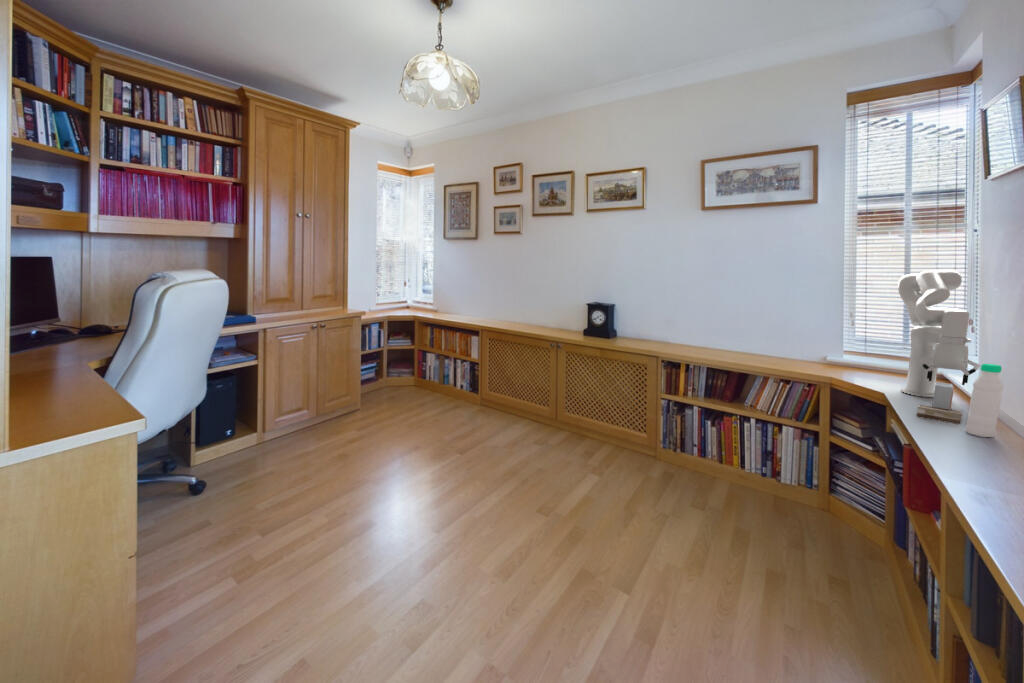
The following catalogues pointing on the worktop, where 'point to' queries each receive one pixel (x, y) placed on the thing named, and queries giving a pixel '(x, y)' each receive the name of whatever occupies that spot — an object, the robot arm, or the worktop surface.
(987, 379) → the milk bottle
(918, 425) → the worktop surface
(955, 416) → the shelf board
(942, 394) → the tea carton
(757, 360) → the worktop surface
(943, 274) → the robot arm
